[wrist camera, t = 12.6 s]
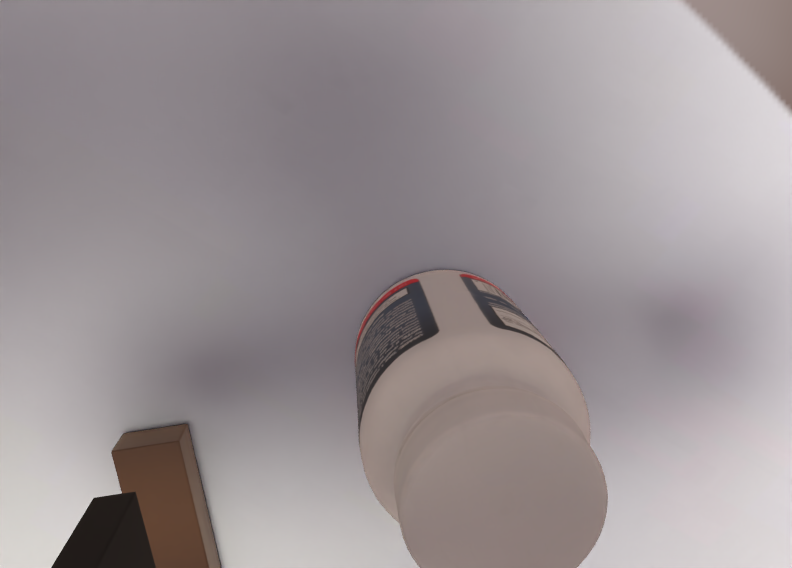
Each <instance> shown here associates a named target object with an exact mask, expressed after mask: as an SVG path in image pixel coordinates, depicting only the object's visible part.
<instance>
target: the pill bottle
mask: <svg viewBox="0 0 792 568" xmlns="http://www.w3.org/2000/svg"><path fill="white" fill-rule="evenodd" d="M355 372H356V388H357V407H358V429H359V445H360V452H361V458H362V463H363V467H364V471H365V474H366V477H367V480H368V482H369V484H370V487H371V489H372V491H373V493H374V494H375V496H376V498H377V499H378V501H379V502H380V503H381V505H382V506H383V507H384V508H385V509H386V511H387V512H388V513H389V514H390V515H391V516H392V517H393V518H394V519H395V520H396V521H398V522H399V523H400V527H401V531H402V535H403V539H404V541H405V544H406V546H407V549H408V550H409V552H410V554H411V555H412V557H413V559H414V560H415V561H416V563H417V564H418V565H419V567H420V568H577V567H578V566H579V565H580V564H581V562H582V561H583V560H584V559H585V558H586V557H587V555H588V554H589V553H590V551H591V550H592V548H593V547H594V545H595V544H596V542H597V540H598V538H599V536H600V533H601V531H602V528H603V525H604V521H605V517H606V512H607V502H608V494H607V486H606V481H605V476H604V473H603V470H602V467H601V464H600V463H599V461H598V459H597V456H596V455H595V453H594V451H593V450H592V448H591V447H590V434H591V432H590V420H589V414H588V409H587V405H586V402H585V399H584V396H583V394H582V392H581V389H580V387H579V385H578V383H577V382H576V380H575V378H574V376H573V375H572V373H571V372H570V370H569V369H568V367H567V366H566V364H565V363H564V362H563V360H562V359H561V358H560V357H559V356H558V354H557V353H556V352H555V351H554V349H553V348H552V347H551V346H550V344H549V343H548V342H547V341H546V339H545V338H544V337H543V336H542V335H541V334H540V332H539V331H538V330H537V329H536V328H535V326H534V325H533V324H532V323H531V322H530V321H529V320H528V318H527V317H526V316H525V315H524V314H523V313H522V311H521V310H520V309H519V308H518V307H517V306H516V305H515V303H514V302H513V301H512V300H511V299H510V298H509V297H508V296H507V295H506V294H505V293H504V292H503V291H502V290H501V289H500V288H498V287H497V286H496V285H494V284H493V283H491V282H489V281H488V280H486V279H484V278H482V277H479V276H476V275H474V274H470V273H467V272H462V271H455V270H434V271H428V272H424V273H420V274H416V275H413V276H410V277H408V278H406V279H403V280H402V281H400V282H398V283H396V284H395V285H393V286H392V287H390V288H389V289H388V290H386V291H385V292H384V293H383V294H382V295H381V296H380V297H379V298H378V299H377V300H376V301H375V302H374V303H373V305H372V306H371V307H370V309H369V310H368V312H367V314H366V315H365V317H364V319H363V321H362V324H361V326H360V329H359V332H358V335H357V340H356V347H355Z"/></svg>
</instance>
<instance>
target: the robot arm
mask: <svg viewBox="0 0 792 568" xmlns="http://www.w3.org/2000/svg"><path fill="white" fill-rule="evenodd" d="M51 568H156V566H155V562H154V559H153V555H152V551H151V547H150V544H149V540H148V536H147V532H146V529H145V525H144V521H143V517H142V514H141V510H140V506H139V502H138V499H137V495H136V492H129V493H123V494H116V495H110V496H104V497H97V498H94V499H93V500H92V502H91V503H90V505H89V507H88V508H87V510H86V512H85V513H84V515H83V517H82V518H81V520H80V521H79V523H78V525H77V526H76V528H75V530H74V531H73V533H72V535H71V536H70V538H69V540H68V541H67V543H66V544H65V546H64V548H63V549H62V551H61V553H60V554H59V556H58V558H57V559H56V561H55V562H54V564H53V566H52V567H51Z"/></svg>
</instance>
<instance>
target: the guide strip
mask: <svg viewBox="0 0 792 568" xmlns="http://www.w3.org/2000/svg"><path fill="white" fill-rule="evenodd" d="M111 453H112V457H113V460H114V464H115V468H116V472H117V476H118V479H119V483H120V487H121V491H122V494H123V493H129V492H136V495H137V499H138V502H139V506H140V510H141V514H142V517H143V521H144V525H145V529H146V532H147V536H148V540H149V544H150V547H151V551H152V555H153V559H154V562H155V566H156V568H221V566H220V562H219V557H218V553H217V549H216V544H215V540H214V536H213V531H212V527H211V523H210V519H209V514H208V510H207V506H206V501H205V497H204V493H203V488H202V484H201V480H200V475H199V471H198V467H197V463H196V458H195V454H194V450H193V445H192V441H191V437H190V432H189V428H188V425H187V424H182V425H176V426H169V427H163V428H156V429H150V430H143V431H137V432H130V433H124V434H123V435H122V436H121V438H120V439H119V441H118V442H117V444H116V445H115V447H114V448H113V450H112V452H111Z"/></svg>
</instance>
